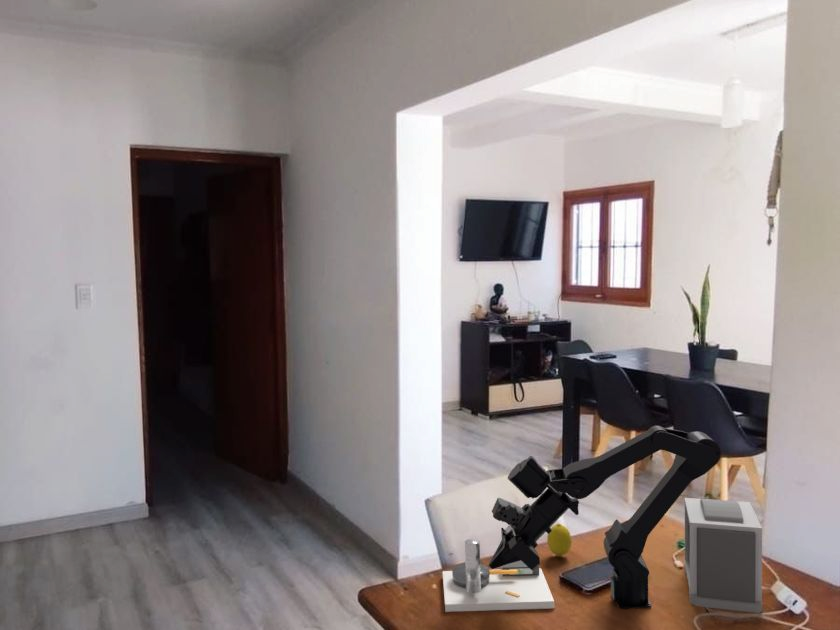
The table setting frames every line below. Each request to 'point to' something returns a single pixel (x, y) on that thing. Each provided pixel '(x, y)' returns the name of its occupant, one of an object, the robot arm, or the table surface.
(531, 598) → the stand
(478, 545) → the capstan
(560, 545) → the lemon
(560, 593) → the table surface
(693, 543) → the alarm clock
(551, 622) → the table surface
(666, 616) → the table surface
